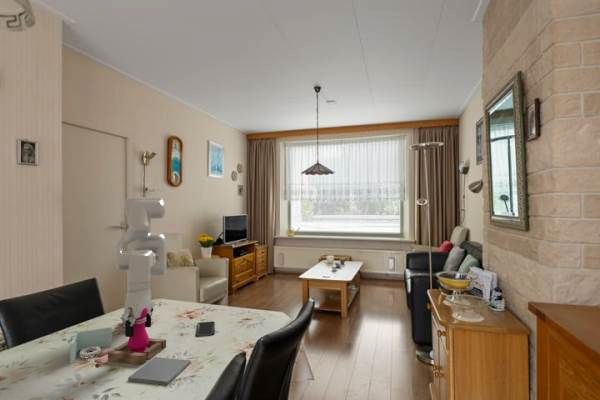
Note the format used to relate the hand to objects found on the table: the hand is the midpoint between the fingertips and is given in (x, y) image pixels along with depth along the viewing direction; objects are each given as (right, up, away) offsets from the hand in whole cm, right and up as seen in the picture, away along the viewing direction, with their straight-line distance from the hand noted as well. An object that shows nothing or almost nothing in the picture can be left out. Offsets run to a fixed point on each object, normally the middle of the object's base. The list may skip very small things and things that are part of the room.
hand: (138, 331), depth 120 cm
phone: (+18, -10, +24) cm, 32 cm away
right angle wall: (-18, -9, 0) cm, 20 cm away
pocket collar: (0, -9, 0) cm, 9 cm away
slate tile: (+14, -8, -12) cm, 20 cm away
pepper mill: (0, -9, 0) cm, 9 cm away
